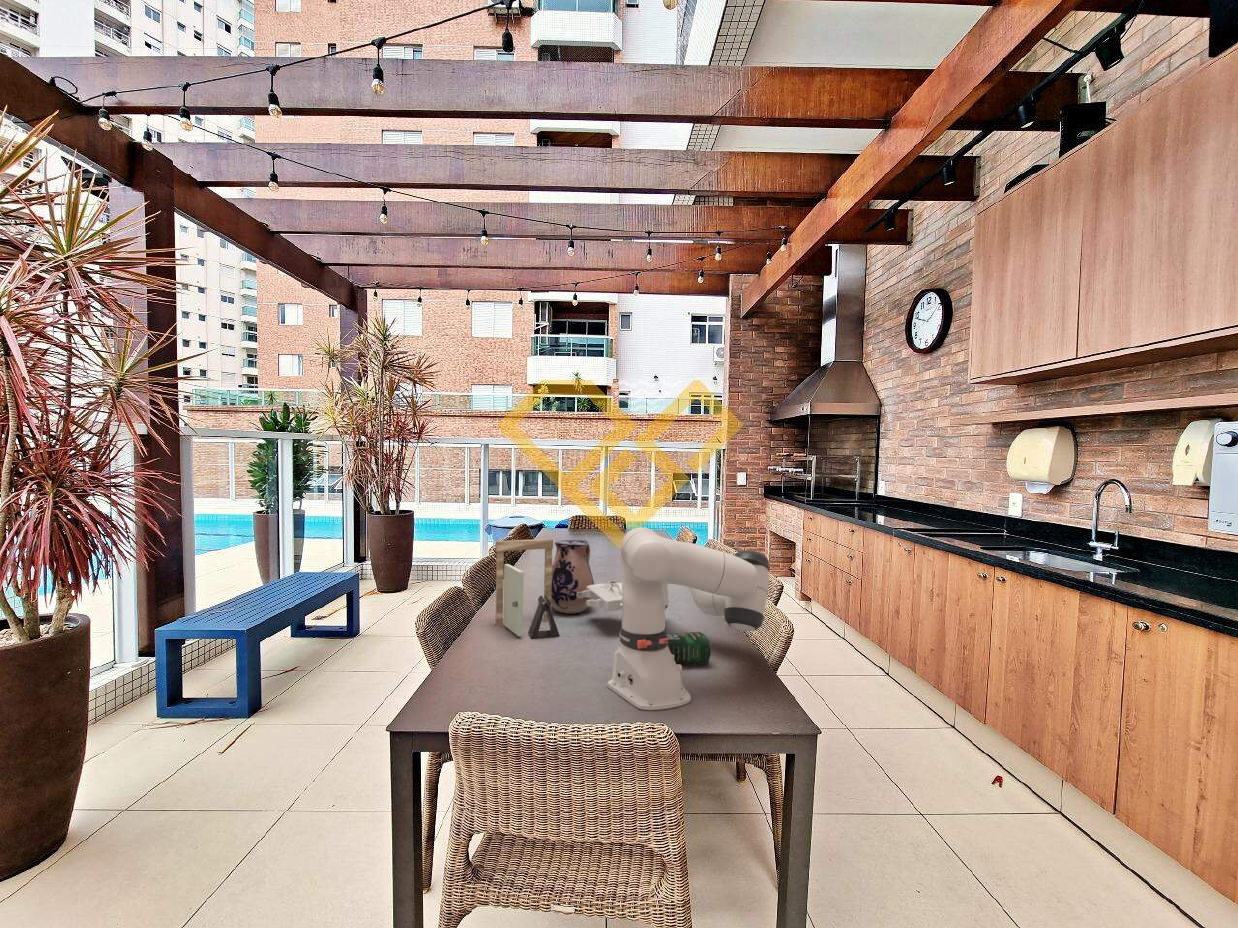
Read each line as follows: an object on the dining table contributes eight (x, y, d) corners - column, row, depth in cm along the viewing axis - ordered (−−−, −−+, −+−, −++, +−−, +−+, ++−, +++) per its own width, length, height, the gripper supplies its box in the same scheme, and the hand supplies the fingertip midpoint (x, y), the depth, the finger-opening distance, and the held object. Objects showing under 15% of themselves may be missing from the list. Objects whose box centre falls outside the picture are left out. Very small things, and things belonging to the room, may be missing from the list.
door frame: (551, 620, 192) (553, 539, 191) (495, 626, 185) (497, 542, 184) (549, 618, 194) (551, 538, 193) (494, 624, 187) (495, 540, 186)
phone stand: (555, 630, 182) (556, 594, 182) (559, 636, 176) (560, 599, 176) (528, 632, 179) (528, 595, 179) (531, 639, 173) (531, 600, 173)
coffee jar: (712, 638, 154) (647, 643, 150) (711, 667, 154) (647, 672, 150) (699, 627, 163) (637, 631, 159) (698, 654, 164) (637, 659, 159)
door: (514, 637, 173) (515, 572, 172) (499, 624, 184) (500, 564, 183) (522, 635, 174) (523, 571, 173) (507, 623, 185) (508, 563, 185)
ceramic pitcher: (538, 614, 199) (539, 544, 198) (561, 599, 219) (562, 535, 218) (584, 620, 194) (585, 548, 193) (603, 604, 214) (605, 538, 213)
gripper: (632, 614, 179) (591, 617, 174) (609, 597, 198) (572, 600, 193) (633, 594, 179) (592, 597, 173) (610, 579, 198) (572, 582, 192)
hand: (581, 599), depth 183 cm, fingers open, 8 cm apart
